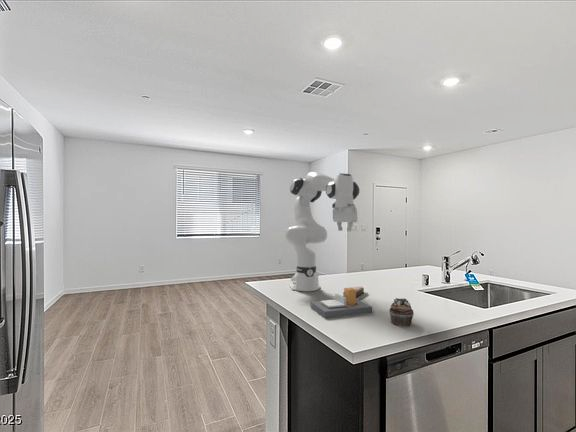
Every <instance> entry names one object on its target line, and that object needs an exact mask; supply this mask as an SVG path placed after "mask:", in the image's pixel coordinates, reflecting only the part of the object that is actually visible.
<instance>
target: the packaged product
mask: <svg viewBox="0 0 576 432" xmlns="http://www.w3.org/2000/svg"><path fill="white" fill-rule="evenodd" d="M352 288H354V289H356V299H358V300H360V301H361V300H362V299H364V298H366V297H367V296H368V295H369V292H367V291H364V289H365V288H364V287H363V286H353V287H352ZM342 293H343V295H342V296H343V297H344V291H343V292H342Z"/></svg>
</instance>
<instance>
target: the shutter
mask: <svg viewBox="0 0 576 432" xmlns="http://www.w3.org/2000/svg"><path fill="white" fill-rule="evenodd" d="M334 295H335V297H334V299H326V300H320V301H321V303H322V304H323V305H325V306H326V307H328V308H333V307H343V306H346V298H345V297H343V296H344V295H341V294H339V293H335V294H334Z"/></svg>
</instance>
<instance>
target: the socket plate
mask: <svg viewBox="0 0 576 432" xmlns="http://www.w3.org/2000/svg"><path fill="white" fill-rule="evenodd" d="M321 301H322V300H317V301H316V300H315V301H310V308H311V310H313V311H314V312H315V313H317V314H318V315H319V316H321V317H322V318H324V319H332V318H340V317H349V316H350V317H352V316H359V315H368V314H373V306H372V305H369V304H368V303H366V302H363V301H361V300H358V299H356V305H349V306H348V305H346V306H343V307H333V308H328V307H326V306H325V305H323V304H322V303H321Z"/></svg>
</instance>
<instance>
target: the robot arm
mask: <svg viewBox="0 0 576 432" xmlns="http://www.w3.org/2000/svg"><path fill="white" fill-rule="evenodd" d="M289 191H290V193H291V194H293V195H294V196H297V197H296V198H295V199H294V201H293V202H294V203H293V213H294V219H295V220H294V221H295V223H296V224H297V225H293V226H288V228H286V232H285V239H286V241H287V242H288V243H289V244H291V245H292V246H293V247H294V250H295V252H296V257H297V258H296V259H297V260H296V261H297V266H296V270H295V271H296V272H295V274H294V275H293V276H292V277H291V278H290V281H291V282H290V283H289V284H288V285H289V287H290V289H291V291H299V292H315V291H318V290H319V289H321V288H322V287H321V285H320V284H319V283H320V282H319V275H318V274H317V266H316V253H315V252H314V251H313V250H312V249H310V248H308V247H307V245H308V244H320V243H324V242H325V241H326V240H327V238H328V231H327V229H326V228H325V227H324V226H322V225H321V224H319V223H318V222H317V221H316V220H315V219H314V217H313V214H312V209H311V204H310V203H315V201H317V200H318V199H320V198H321V196H322V193H323V192H325V195H326V196H327V197H328V198H329V199H331V200H332V199H333V200H334V199H335V201H334V202H333V203H332V205H331V207H332V208H331V209H332V221H333V222H334V223H336V225H337V229H338V232H339V231H343V226H342V224H343V223H347V227H346V232H352V228H353V225H354V223H357V222H358V209H357V207H356V205H355V204H354V200H355V199H357V197H358V196H359V195H360V187H359V185H358V184H357V183H356V182H355V181H354V179H353V175H352V174H350V173H337V174H336V177H335V178H333V177H331V176H328V175H327V174H324V173H322V172H319V171H310V172H308V173H307V174H306V176H305V178H302V177H299V178H296V179H293V180H291V183H290V185H289Z"/></svg>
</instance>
